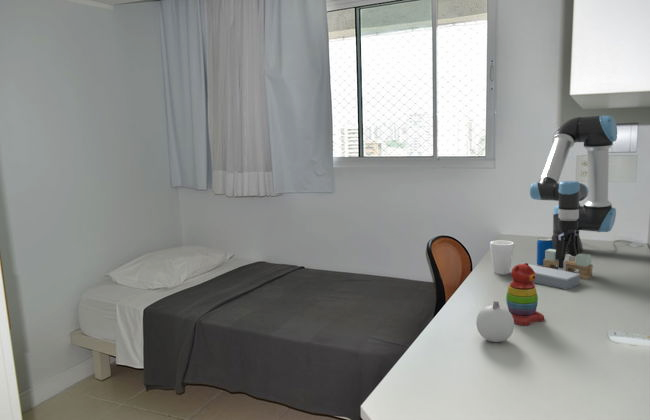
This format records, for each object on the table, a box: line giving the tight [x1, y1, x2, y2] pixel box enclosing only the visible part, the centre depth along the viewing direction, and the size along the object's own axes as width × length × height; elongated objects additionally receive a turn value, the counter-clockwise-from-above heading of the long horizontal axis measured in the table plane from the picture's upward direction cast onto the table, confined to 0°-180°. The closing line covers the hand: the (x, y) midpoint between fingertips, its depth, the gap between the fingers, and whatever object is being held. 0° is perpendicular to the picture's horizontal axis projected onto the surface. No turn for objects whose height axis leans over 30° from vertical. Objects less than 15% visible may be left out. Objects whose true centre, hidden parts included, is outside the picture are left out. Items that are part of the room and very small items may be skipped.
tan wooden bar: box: [543, 259, 594, 280], centre depth 205 cm, size 5×18×5 cm, turn 37°
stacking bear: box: [505, 262, 546, 326], centre depth 158 cm, size 11×10×18 cm
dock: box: [528, 263, 581, 290], centre depth 197 cm, size 10×22×4 cm, turn 37°
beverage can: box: [536, 237, 553, 267], centre depth 219 cm, size 6×6×12 cm
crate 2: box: [576, 253, 592, 267], centre depth 200 cm, size 4×4×4 cm
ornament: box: [475, 300, 515, 343], centre depth 143 cm, size 10×10×12 cm
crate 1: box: [545, 249, 557, 261], centre depth 210 cm, size 4×4×4 cm
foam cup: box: [489, 239, 515, 276], centre depth 211 cm, size 10×9×13 cm
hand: (567, 273), depth 206 cm, fingers open, 8 cm apart
